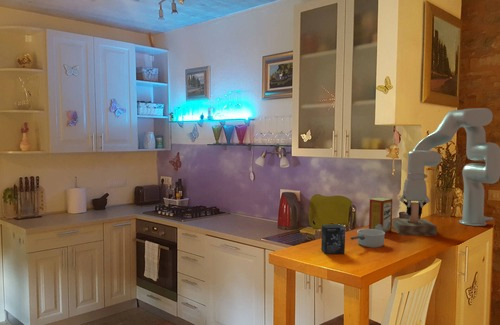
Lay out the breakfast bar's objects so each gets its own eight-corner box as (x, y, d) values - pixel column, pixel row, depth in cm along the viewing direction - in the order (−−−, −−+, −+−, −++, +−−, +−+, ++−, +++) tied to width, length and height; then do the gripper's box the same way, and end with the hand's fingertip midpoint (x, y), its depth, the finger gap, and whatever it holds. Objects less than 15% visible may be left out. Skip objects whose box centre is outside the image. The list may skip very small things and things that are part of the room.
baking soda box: (378, 228, 205) (379, 196, 203) (391, 231, 200) (392, 198, 199) (368, 231, 198) (369, 198, 197) (381, 234, 193) (382, 200, 192)
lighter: (374, 235, 191) (375, 218, 191) (376, 234, 192) (377, 217, 192) (388, 238, 186) (389, 220, 185) (390, 237, 187) (391, 220, 187)
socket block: (425, 228, 207) (425, 219, 206) (436, 236, 191) (437, 226, 190) (392, 227, 208) (392, 218, 208) (400, 235, 192) (401, 225, 192)
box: (325, 254, 160) (326, 227, 160) (321, 250, 166) (321, 224, 165) (345, 254, 162) (345, 227, 161) (339, 250, 167) (340, 224, 166)
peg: (416, 227, 201) (417, 202, 200) (419, 228, 197) (420, 203, 196) (408, 226, 201) (409, 202, 201) (410, 228, 197) (411, 203, 197)
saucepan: (339, 248, 170) (339, 235, 169) (365, 240, 183) (366, 227, 183) (364, 254, 161) (364, 240, 161) (390, 245, 175) (390, 232, 175)
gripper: (431, 176, 200) (429, 214, 202) (395, 175, 202) (394, 213, 203) (436, 178, 193) (435, 217, 194) (399, 177, 195) (398, 216, 196)
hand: (414, 214), depth 199 cm, fingers closed on peg, 4 cm apart
